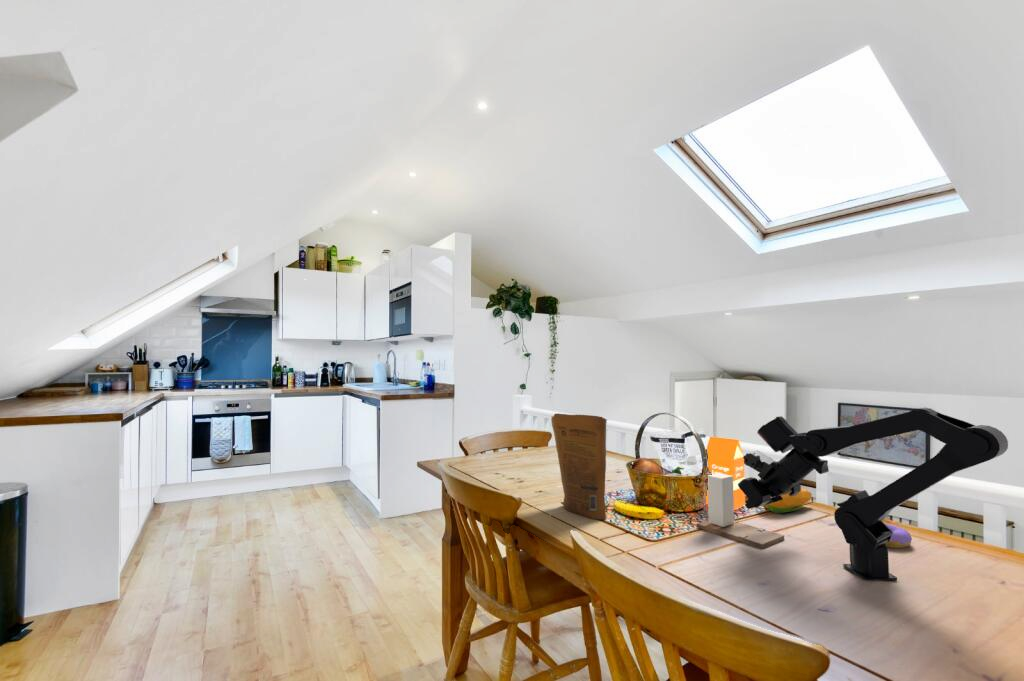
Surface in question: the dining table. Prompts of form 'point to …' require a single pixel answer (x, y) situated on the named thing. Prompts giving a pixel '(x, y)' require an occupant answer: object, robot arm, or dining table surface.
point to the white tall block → (720, 499)
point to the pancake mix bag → (582, 462)
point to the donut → (898, 537)
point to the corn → (789, 502)
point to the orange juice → (727, 464)
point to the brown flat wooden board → (744, 533)
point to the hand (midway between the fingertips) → (747, 506)
